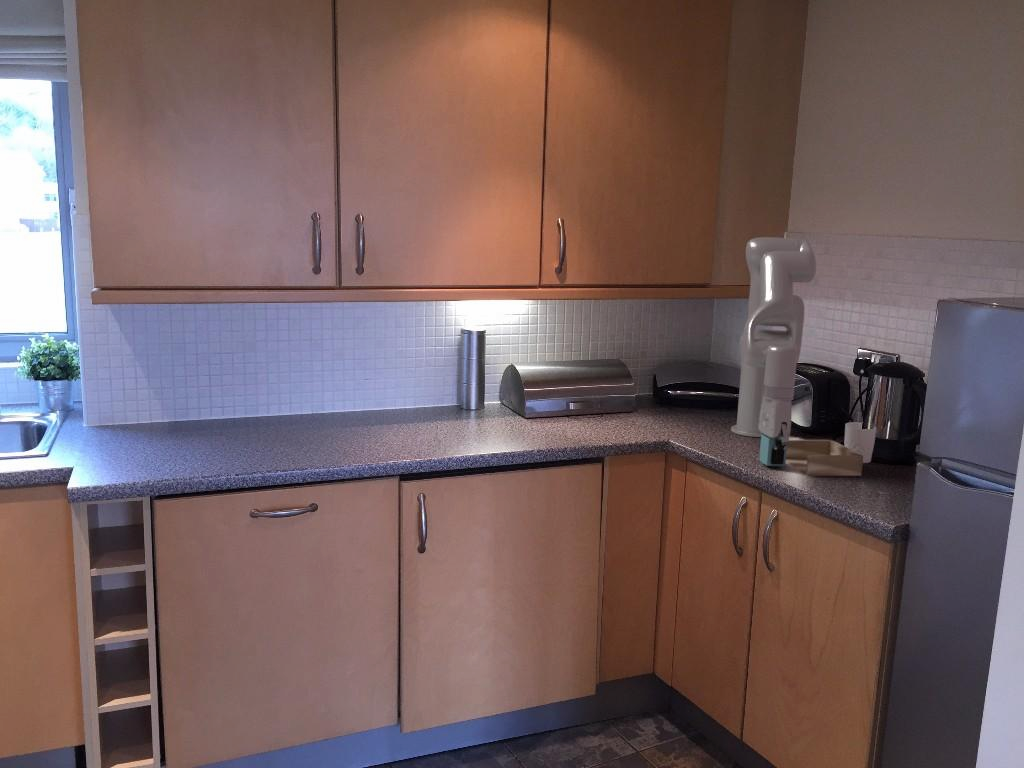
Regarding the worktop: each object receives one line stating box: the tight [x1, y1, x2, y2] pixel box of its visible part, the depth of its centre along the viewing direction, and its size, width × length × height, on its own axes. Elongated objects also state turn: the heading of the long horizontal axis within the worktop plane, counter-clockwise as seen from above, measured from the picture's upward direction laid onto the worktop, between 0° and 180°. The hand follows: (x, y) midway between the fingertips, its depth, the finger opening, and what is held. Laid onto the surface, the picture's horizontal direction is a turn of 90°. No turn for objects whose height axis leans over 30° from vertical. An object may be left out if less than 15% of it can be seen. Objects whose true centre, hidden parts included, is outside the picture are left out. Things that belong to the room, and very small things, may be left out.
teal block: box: [758, 435, 787, 467], centre depth 227 cm, size 5×5×7 cm
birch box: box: [786, 439, 864, 477], centre depth 229 cm, size 17×14×6 cm
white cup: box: [843, 421, 877, 464], centre depth 237 cm, size 8×8×10 cm
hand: (772, 460), depth 228 cm, fingers closed on teal block, 5 cm apart
